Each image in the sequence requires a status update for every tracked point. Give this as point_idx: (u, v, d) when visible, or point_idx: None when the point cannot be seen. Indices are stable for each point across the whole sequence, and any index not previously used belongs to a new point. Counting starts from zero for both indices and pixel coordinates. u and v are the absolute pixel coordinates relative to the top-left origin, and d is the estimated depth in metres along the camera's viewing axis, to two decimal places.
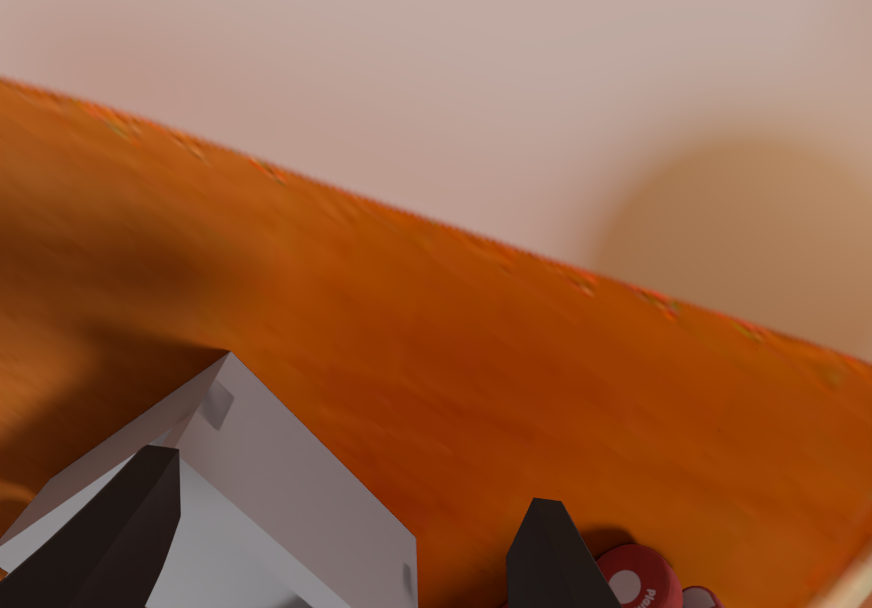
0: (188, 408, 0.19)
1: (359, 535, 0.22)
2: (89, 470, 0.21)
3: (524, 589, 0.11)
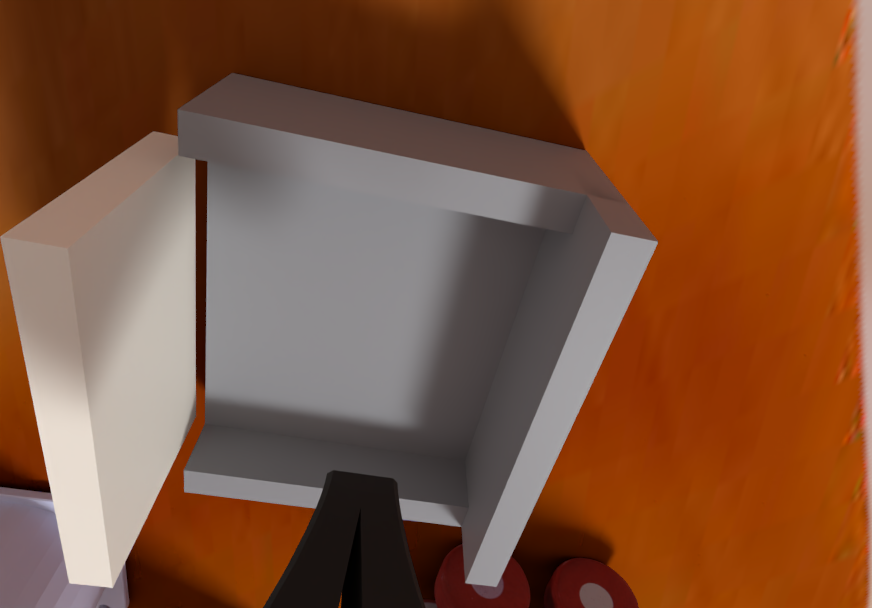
0: (590, 185, 0.14)
1: None
2: (380, 131, 0.14)
3: (348, 569, 0.11)
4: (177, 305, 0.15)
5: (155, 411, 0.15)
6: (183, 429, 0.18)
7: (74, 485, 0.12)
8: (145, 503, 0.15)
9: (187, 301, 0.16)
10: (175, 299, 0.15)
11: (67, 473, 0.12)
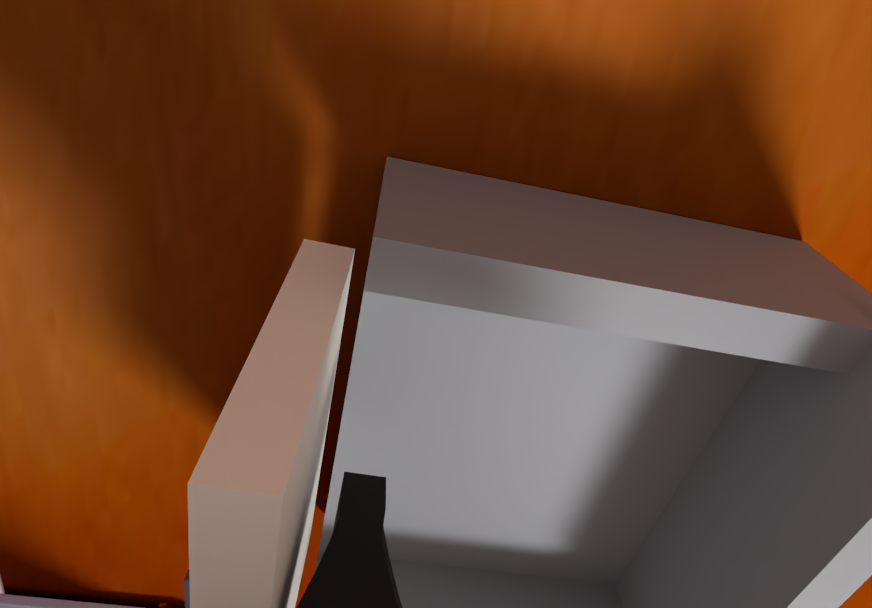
0: (866, 309, 0.11)
1: None
2: (599, 242, 0.11)
3: None
4: (320, 447, 0.12)
5: (294, 581, 0.12)
6: (302, 569, 0.15)
7: None
8: None
9: (324, 433, 0.13)
10: (320, 442, 0.12)
11: None
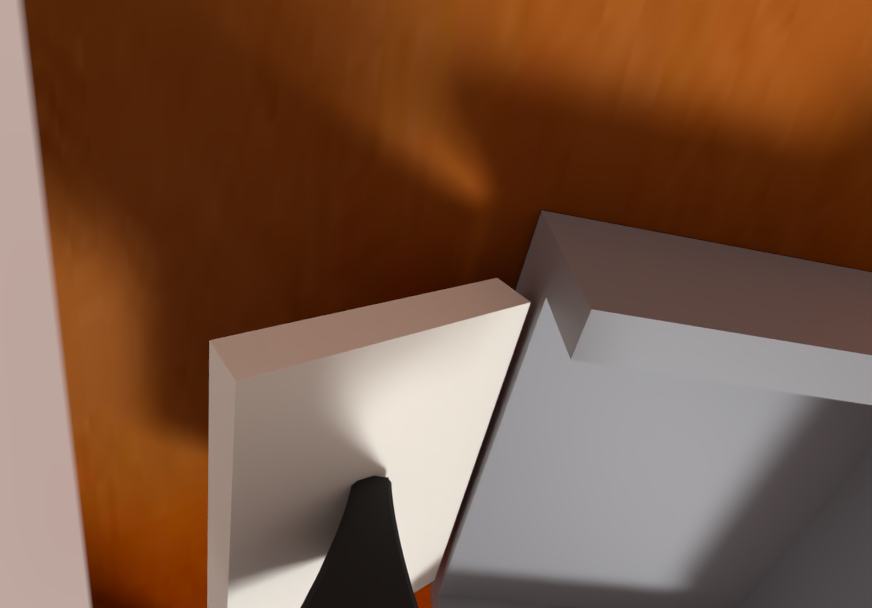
0: None
1: None
2: (777, 300, 0.11)
3: None
4: (434, 467, 0.13)
5: None
6: None
7: (217, 595, 0.11)
8: None
9: (456, 466, 0.13)
10: (433, 461, 0.12)
11: (215, 580, 0.11)
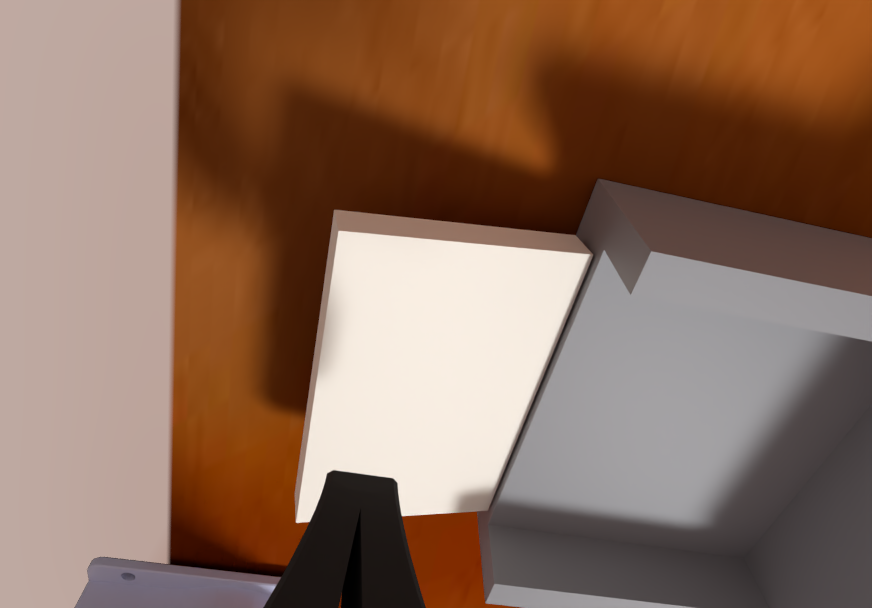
0: None
1: None
2: (802, 255, 0.13)
3: (348, 569, 0.11)
4: (492, 384, 0.15)
5: (415, 445, 0.16)
6: (458, 501, 0.18)
7: (308, 418, 0.15)
8: None
9: (514, 394, 0.16)
10: (491, 376, 0.15)
11: (309, 405, 0.15)
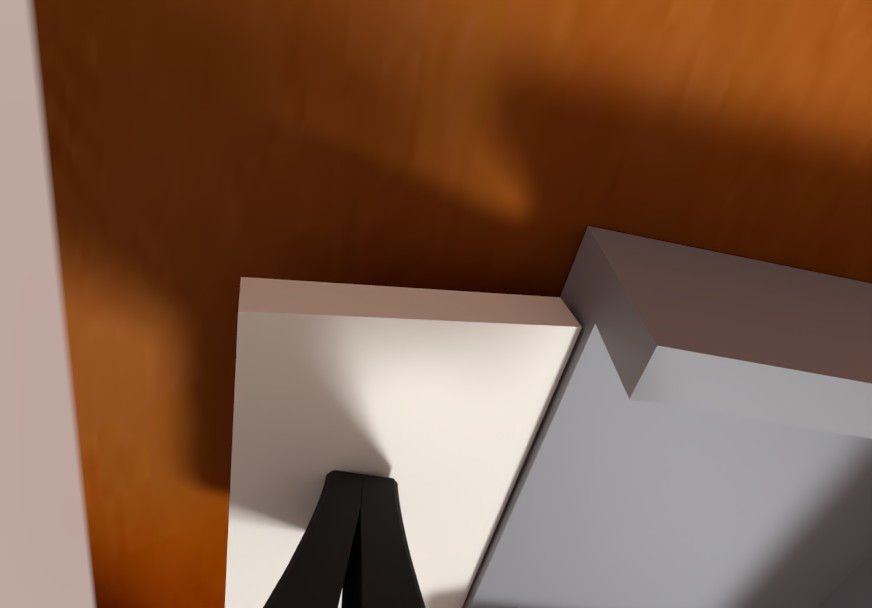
0: None
1: None
2: (853, 333, 0.10)
3: (348, 569, 0.11)
4: (458, 478, 0.12)
5: None
6: None
7: None
8: None
9: (487, 487, 0.13)
10: (456, 470, 0.12)
11: None
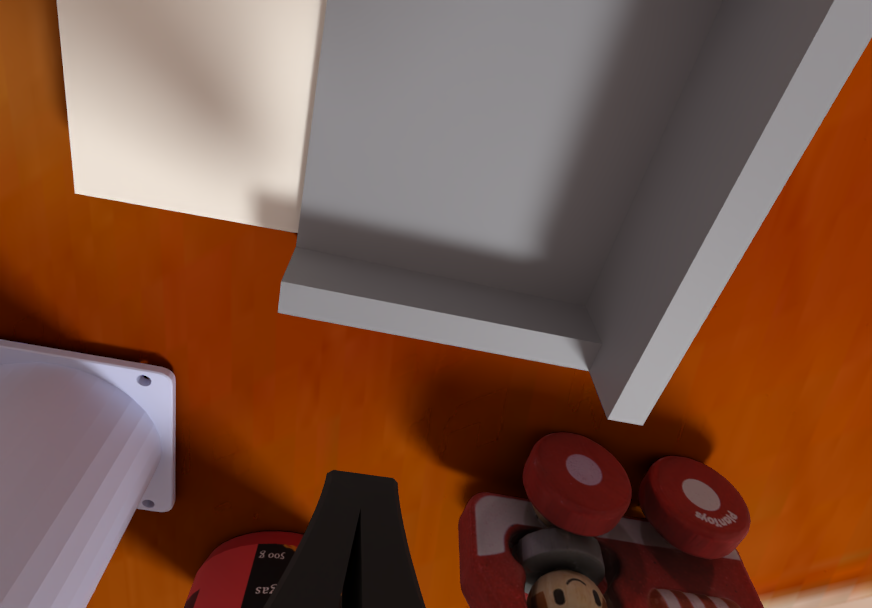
0: None
1: None
2: None
3: (348, 569, 0.11)
4: (263, 25, 0.14)
5: (190, 104, 0.15)
6: (259, 209, 0.16)
7: None
8: (154, 187, 0.16)
9: (294, 47, 0.14)
10: (260, 12, 0.14)
11: None
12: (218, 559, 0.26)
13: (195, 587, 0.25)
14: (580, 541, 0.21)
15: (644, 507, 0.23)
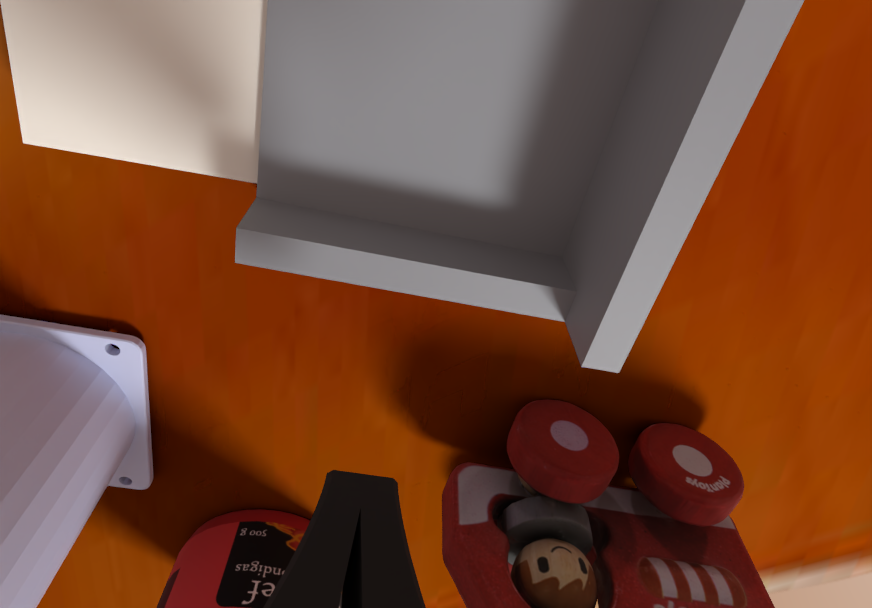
0: None
1: None
2: None
3: (348, 569, 0.11)
4: None
5: (137, 42, 0.14)
6: (217, 158, 0.16)
7: None
8: (105, 135, 0.15)
9: None
10: None
11: None
12: (199, 537, 0.25)
13: (176, 566, 0.25)
14: (566, 509, 0.21)
15: (633, 474, 0.22)
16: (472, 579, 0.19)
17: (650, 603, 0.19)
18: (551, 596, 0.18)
